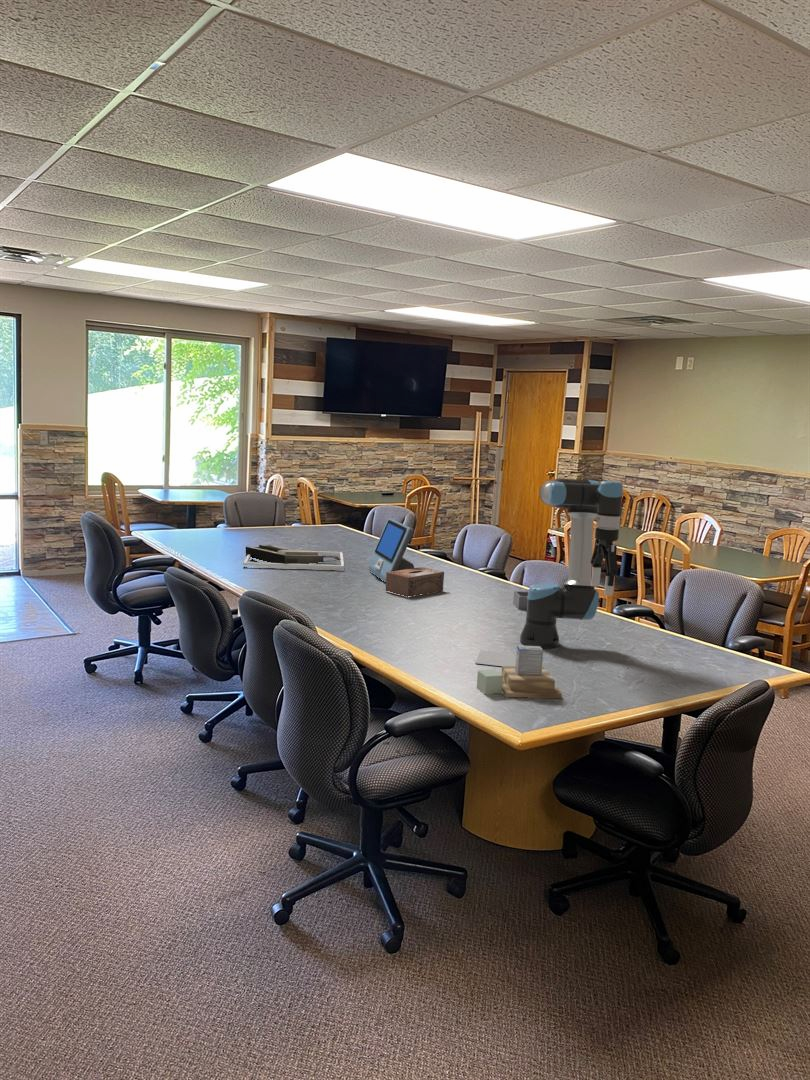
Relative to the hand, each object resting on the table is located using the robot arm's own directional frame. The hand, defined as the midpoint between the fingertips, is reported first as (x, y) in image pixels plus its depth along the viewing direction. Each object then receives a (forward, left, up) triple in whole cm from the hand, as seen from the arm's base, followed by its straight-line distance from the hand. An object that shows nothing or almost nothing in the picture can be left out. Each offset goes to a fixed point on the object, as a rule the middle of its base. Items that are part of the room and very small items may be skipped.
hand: (601, 590), depth 275 cm
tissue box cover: (-127, -48, -31) cm, 139 cm away
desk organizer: (-102, +7, -31) cm, 107 cm away
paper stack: (-14, -26, -31) cm, 43 cm away
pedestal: (+11, -26, -31) cm, 42 cm away
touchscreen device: (-156, -56, -31) cm, 169 cm away
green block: (+14, -39, -31) cm, 52 cm away
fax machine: (-192, -108, -31) cm, 222 cm away
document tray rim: (-192, -108, -31) cm, 222 cm away
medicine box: (+11, -26, -26) cm, 38 cm away
